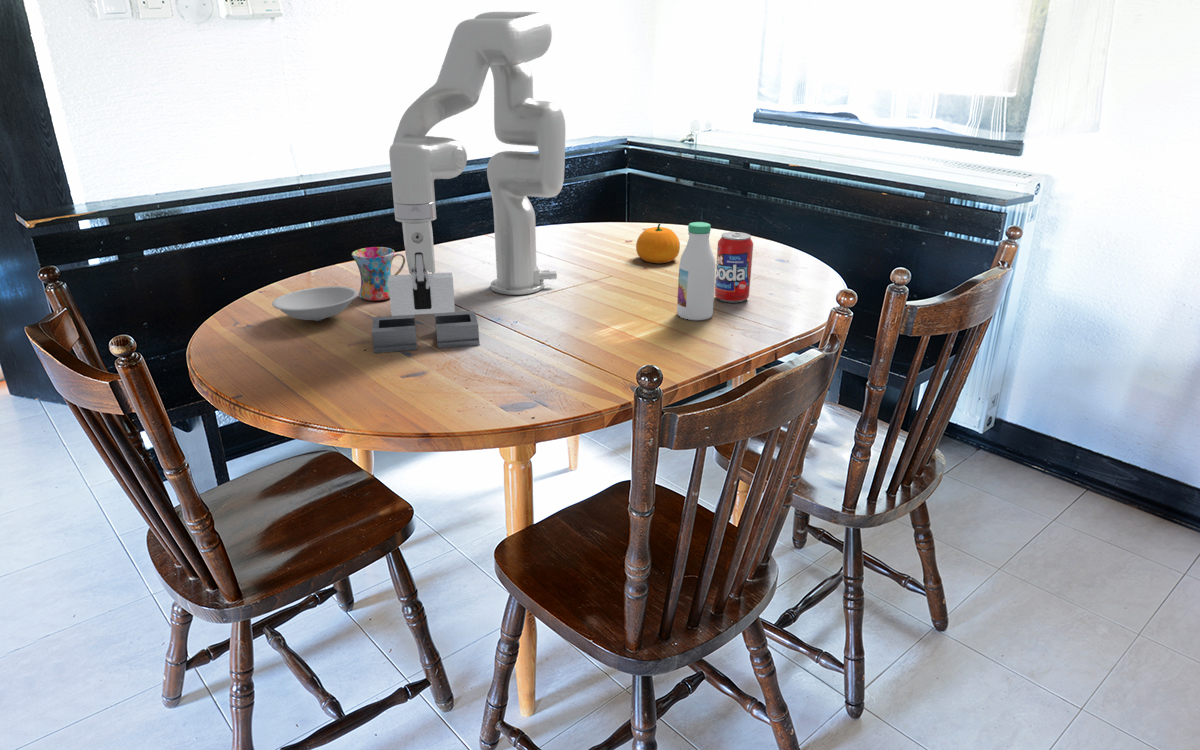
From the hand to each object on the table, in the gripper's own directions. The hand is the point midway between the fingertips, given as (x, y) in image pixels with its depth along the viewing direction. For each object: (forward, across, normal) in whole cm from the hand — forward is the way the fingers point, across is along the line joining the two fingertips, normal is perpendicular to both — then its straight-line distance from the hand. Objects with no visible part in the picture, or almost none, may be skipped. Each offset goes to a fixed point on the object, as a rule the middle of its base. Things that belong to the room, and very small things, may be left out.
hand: (422, 304), depth 154 cm
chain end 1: (+8, 0, +6) cm, 10 cm away
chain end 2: (+7, 0, -6) cm, 10 cm away
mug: (+7, +31, +9) cm, 33 cm away
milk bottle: (+7, +3, -57) cm, 58 cm away
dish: (+8, +17, +22) cm, 29 cm away
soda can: (+7, +12, -69) cm, 71 cm away
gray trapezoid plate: (+1, 0, 0) cm, 1 cm away
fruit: (+7, +48, -62) cm, 79 cm away
